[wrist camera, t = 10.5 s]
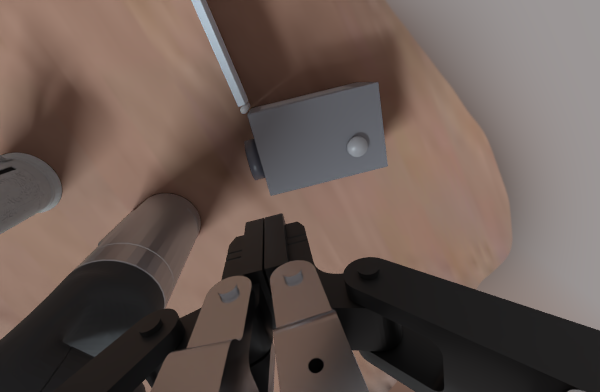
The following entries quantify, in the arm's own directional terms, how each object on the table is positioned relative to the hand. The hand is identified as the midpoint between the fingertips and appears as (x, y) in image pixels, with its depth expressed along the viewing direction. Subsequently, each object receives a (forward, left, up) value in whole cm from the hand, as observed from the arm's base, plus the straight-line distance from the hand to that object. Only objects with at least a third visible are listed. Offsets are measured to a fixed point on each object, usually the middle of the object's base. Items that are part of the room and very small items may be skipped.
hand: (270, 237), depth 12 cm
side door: (-3, +11, -31) cm, 33 cm away
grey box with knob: (+6, -2, -31) cm, 32 cm away
